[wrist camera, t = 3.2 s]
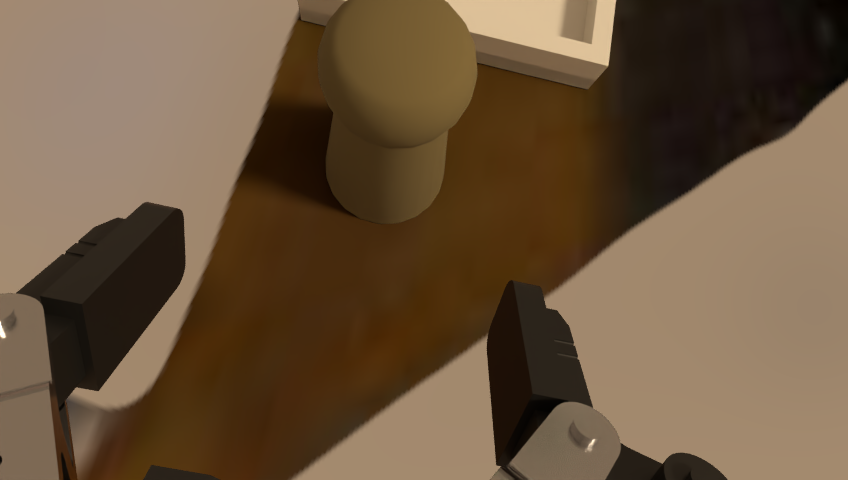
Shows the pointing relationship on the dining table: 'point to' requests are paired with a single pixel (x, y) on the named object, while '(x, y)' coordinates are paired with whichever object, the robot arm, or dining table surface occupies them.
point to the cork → (393, 102)
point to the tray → (526, 34)
